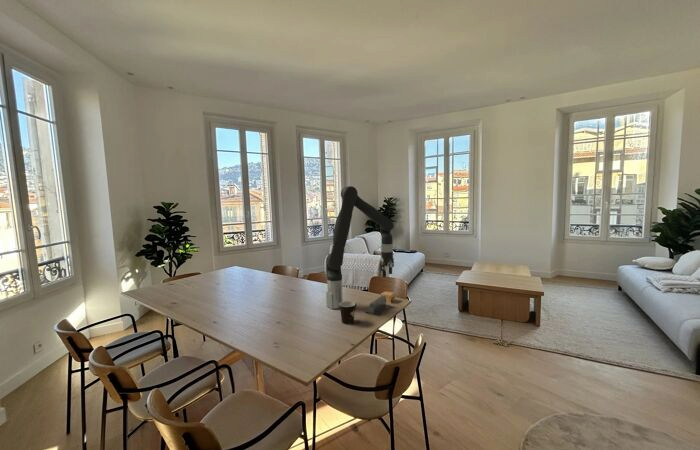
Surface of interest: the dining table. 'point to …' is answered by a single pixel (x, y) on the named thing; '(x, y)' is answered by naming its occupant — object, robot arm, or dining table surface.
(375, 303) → the rail
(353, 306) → the coffee mug
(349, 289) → the dining table surface
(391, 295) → the block
